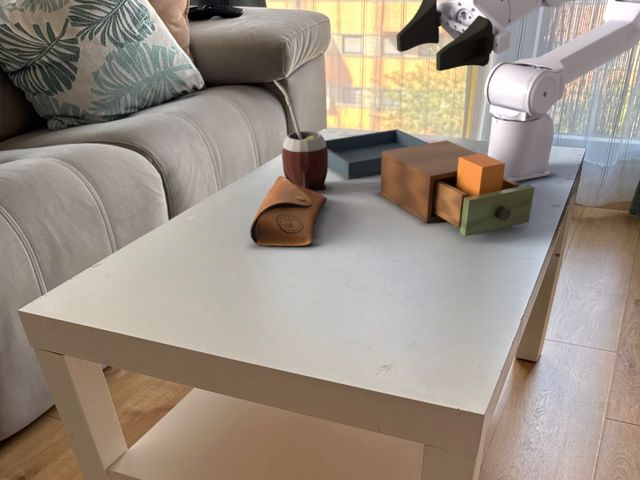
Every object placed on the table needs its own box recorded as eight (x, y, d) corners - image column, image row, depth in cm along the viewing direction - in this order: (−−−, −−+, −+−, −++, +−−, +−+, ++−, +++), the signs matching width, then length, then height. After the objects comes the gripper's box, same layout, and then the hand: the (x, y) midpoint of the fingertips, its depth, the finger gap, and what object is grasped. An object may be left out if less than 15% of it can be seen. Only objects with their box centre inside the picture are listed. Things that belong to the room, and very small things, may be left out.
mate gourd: (328, 196, 98) (326, 88, 88) (277, 197, 98) (270, 89, 88) (328, 180, 104) (326, 77, 94) (280, 181, 104) (273, 79, 94)
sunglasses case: (315, 243, 82) (286, 198, 79) (271, 268, 85) (241, 226, 82) (328, 196, 96) (304, 156, 93) (290, 219, 99) (266, 181, 96)
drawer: (534, 225, 84) (541, 189, 81) (470, 240, 81) (474, 203, 78) (474, 195, 94) (478, 162, 91) (415, 207, 91) (417, 173, 88)
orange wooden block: (475, 201, 89) (481, 152, 85) (498, 213, 85) (505, 163, 81) (453, 205, 88) (458, 156, 84) (475, 218, 84) (482, 167, 80)
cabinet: (494, 209, 91) (500, 163, 87) (426, 223, 88) (430, 176, 84) (442, 182, 101) (446, 140, 97) (380, 194, 98) (381, 151, 94)
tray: (396, 143, 119) (397, 129, 118) (437, 162, 109) (438, 147, 108) (313, 156, 114) (312, 142, 113) (348, 178, 104) (348, 163, 102)
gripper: (457, -39, 86) (380, 3, 83) (539, -9, 79) (458, 38, 76) (455, 17, 92) (383, 58, 89) (531, 49, 84) (456, 95, 81)
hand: (417, 52), depth 83 cm, fingers open, 7 cm apart
